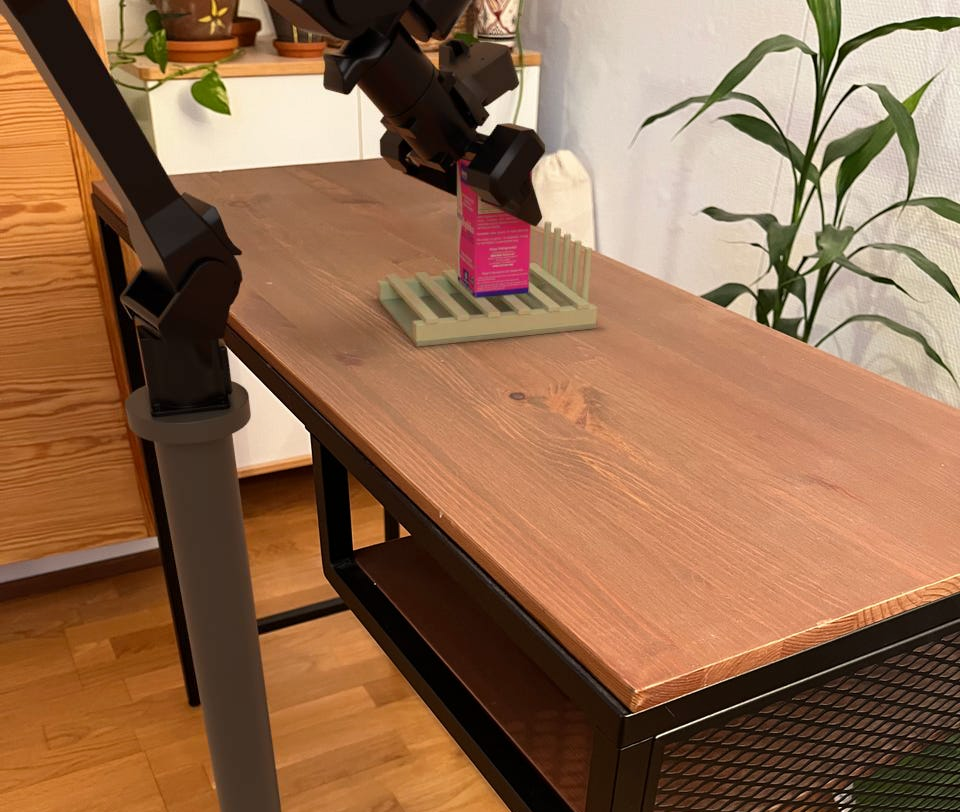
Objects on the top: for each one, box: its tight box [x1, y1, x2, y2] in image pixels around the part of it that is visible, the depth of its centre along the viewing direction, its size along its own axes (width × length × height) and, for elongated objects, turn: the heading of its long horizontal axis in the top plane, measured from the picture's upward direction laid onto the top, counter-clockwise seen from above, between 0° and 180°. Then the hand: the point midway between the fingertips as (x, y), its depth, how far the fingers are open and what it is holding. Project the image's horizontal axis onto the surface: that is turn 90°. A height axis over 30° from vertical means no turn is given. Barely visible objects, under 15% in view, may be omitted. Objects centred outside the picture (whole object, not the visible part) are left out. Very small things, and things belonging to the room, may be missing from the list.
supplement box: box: [456, 159, 533, 298], centre depth 98 cm, size 6×6×12 cm
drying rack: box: [377, 220, 598, 348], centre depth 100 cm, size 18×14×7 cm
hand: (508, 211), depth 98 cm, fingers open, 9 cm apart
